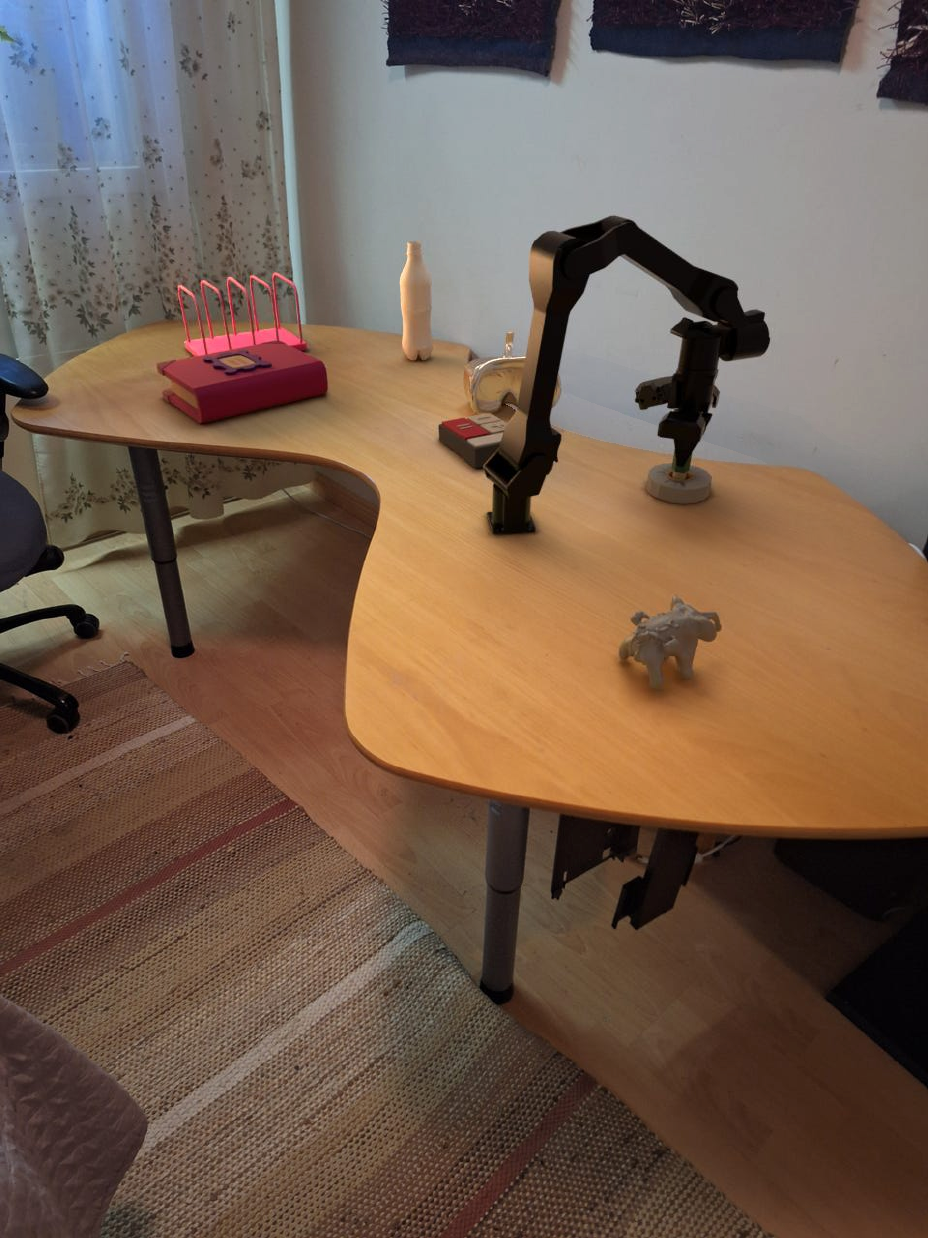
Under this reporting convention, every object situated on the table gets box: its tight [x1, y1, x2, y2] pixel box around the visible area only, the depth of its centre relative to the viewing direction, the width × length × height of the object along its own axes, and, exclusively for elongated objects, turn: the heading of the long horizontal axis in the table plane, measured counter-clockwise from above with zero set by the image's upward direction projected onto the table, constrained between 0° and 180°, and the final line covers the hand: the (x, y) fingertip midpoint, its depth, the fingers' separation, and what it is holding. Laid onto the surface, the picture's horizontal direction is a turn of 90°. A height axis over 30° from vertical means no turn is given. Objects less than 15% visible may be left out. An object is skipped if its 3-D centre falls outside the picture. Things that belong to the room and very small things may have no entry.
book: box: [155, 340, 329, 424], centre depth 165 cm, size 21×28×8 cm
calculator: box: [437, 413, 508, 469], centre depth 143 cm, size 11×4×15 cm
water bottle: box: [399, 240, 434, 361], centre depth 182 cm, size 7×7×25 cm
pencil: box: [671, 448, 694, 480], centre depth 126 cm, size 2×3×12 cm
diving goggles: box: [463, 331, 562, 415], centre depth 157 cm, size 18×11×14 cm, turn 101°
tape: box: [645, 462, 713, 505], centre depth 129 cm, size 10×10×3 cm
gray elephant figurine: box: [618, 593, 723, 691], centre depth 90 cm, size 9×12×8 cm
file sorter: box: [177, 272, 308, 357], centre depth 190 cm, size 17×25×16 cm
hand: (681, 462), depth 127 cm, fingers closed on pencil, 2 cm apart
